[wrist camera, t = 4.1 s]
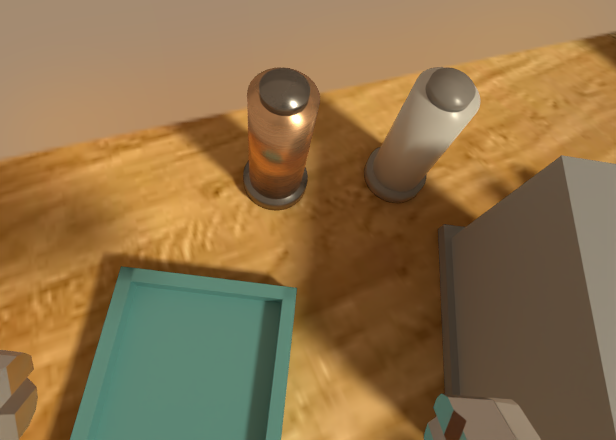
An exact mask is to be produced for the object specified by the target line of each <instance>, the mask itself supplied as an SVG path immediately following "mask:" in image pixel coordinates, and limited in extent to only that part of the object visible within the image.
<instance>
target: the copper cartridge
mask: <svg viewBox="0 0 616 440" xmlns="http://www.w3.org/2000/svg"><path fill="white" fill-rule="evenodd" d="M247 101H248V145H249V161H248V162H247V164H246V166H245V169H244V187H245V191H246V193H247V195H248V196H249V198H250V199H251V200H252V201H253V202H254V203H255V204H257V205H258V206H260V207H262V208H265V209H268V210H284V209H287V208H290V207H292V206H293V205H295V204H296V203H297V202H298V201H299V200H300V199H301V198H302V196H303V194H304V192H305V189H306V185H307V177H308V176H307V171H306V168H305V165H306V160H307V156H308V152H309V147H310V143H311V139H312V135H313V130H314V126H315V122H316V117H317V113H318V109H319V104H320V94H319V91H318V88H317V86H316V85H315V83H314V82H313V81H312V80H311V79H310V78H309V77H307V76H306V75H305V74H303V73H301V72H299V71H297V70H294V69H290V68H272V69H268V70H265V71H263V72H261V73H260V74H258V75H257V76H256V77H255V78H254V79H253V80H252V81H251V83H250V85H249V87H248V93H247Z"/></svg>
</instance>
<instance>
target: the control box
mask: <svg viewBox="0 0 616 440" xmlns="http://www.w3.org/2000/svg"><path fill="white" fill-rule="evenodd" d="M438 241H439V265H440V288H441V312H442V336H443V360H444V383H445V394H453V395H464V396H475V397H485V398H500V399H512V400H513V401H514V402H516V403H517V404H518V405H519V406H520V408H521V410H522V411H523V413H524V414H525V416H526V417H527V419H528V420H529V422H530V423H531V425H532V426H533V428H534V430H535V431H536V433H537V434H538V436H539V437H540V439H541V440H616V164H612V163H606V162H599V161H593V160H587V159H581V158H574V157H568V156H560V157H559V158H558V159H556V160H555V161H554V162H552V163H551V164H550V165H548V166H547V167H546V168H544V169H543V170H542V171H540V172H539V173H538V174H536V175H535V176H534V177H532V178H531V179H530V180H528V181H527V182H525V183H524V184H523V185H521V186H520V187H519V188H517V189H516V190H515V191H513V192H512V193H511V194H509V195H508V196H507V197H505V198H504V199H503V200H501V201H500V202H499V203H497V204H496V205H495V206H493V207H492V208H491V209H489V210H488V211H487V212H485V213H484V214H483V215H481V216H480V217H479V218H477V219H476V220H475V221H473V222H472V223H471V224H469V225H468V226H467V227H460V226H453V225H446V224H444V225H442V226H441V227H440V228H439V229H438Z"/></svg>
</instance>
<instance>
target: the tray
mask: <svg viewBox="0 0 616 440" xmlns="http://www.w3.org/2000/svg"><path fill="white" fill-rule="evenodd" d="M296 293H297V288H293V287H285V286H277V285H269V284H261V283H253V282H244V281H236V280H228V279H220V278H212V277H204V276H196V275H187V274H179V273H171V272H163V271H155V270H147V269H139V268H130V267H122V266H121V268H120V272H119V275H118V279H117V282H116V285H115V289H114V292H113V295H112V299H111V302H110V306H109V309H108V312H107V316H106V319H105V323H104V326H103V329H102V333H101V336H100V340H99V343H98V346H97V350H96V353H95V356H94V360H93V363H92V367H91V370H90V373H89V377H88V380H87V384H86V387H85V390H84V394H83V397H82V401H81V404H80V407H79V411H78V414H77V417H76V421H75V424H74V428H73V431H72V434H71V438H70V440H281V434H282V425H283V415H284V406H285V396H286V387H287V378H288V368H289V359H290V349H291V340H292V331H293V321H294V312H295V302H296Z"/></svg>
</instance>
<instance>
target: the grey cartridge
mask: <svg viewBox="0 0 616 440" xmlns="http://www.w3.org/2000/svg"><path fill="white" fill-rule="evenodd" d="M479 107H480V95H479V92H478V90H477V88H476V87H475V85H474V83H473V82H472V80H471V79H470V78H469V77H468V76H467V75H466V74H465V73H463V72H461V71H459V70H457V69H454V68H443V67H436V68H431V69H428V70H426V71H424V72H423V73H421V74H420V75H419V77H418V78H417V80H416V82H415V84H414V86H413V88H412V89H411V91H410V93H409V95H408V97H407V99H406V101H405V103H404V104H403V106H402V108H401V110H400V112H399V114H398V116H397V118H396V119H395V121H394V123H393V125H392V127H391V129H390V131H389V133H388V134H387V136H386V138H385V140H384V142H383V144H382V146H381V147H379V148H377V149H376V150H374V151H373V152H372V154H371V155H370V157H369V159H368V161H367V163H366V165H365V169H364V177H365V181H366V183H367V185H368V187H369V189H370V190H371V191H372V192H373V193H374V194H375V195H376V196H378V197H379V198H381V199H383V200H385V201H388V202H392V203H401V202H406V201H408V200H410V199H412V198H413V197H414V196H416V194H417V193H418V192H419V191H420V190H421V188H422V187H423V186H424V184H425V181H426V174H427V173H428V171H429V170H430V169H431V168H432V167H433V165H434V164H435V163H436V162H437V160H438V159H439V158H440V157H441V155H442V154H443V153H444V152H445V151H446V149H447V148H448V147H449V146H450V144H451V143H452V142H453V141H454V140H455V138H456V137H457V136H458V135H459V133H460V132H461V131H462V130H463V129H464V127H465V126H466V125H467V124H468V122H469V121H470V120H471V119H472V118H473V116H474V115H475V114H476V113H477V111H478V109H479Z"/></svg>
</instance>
